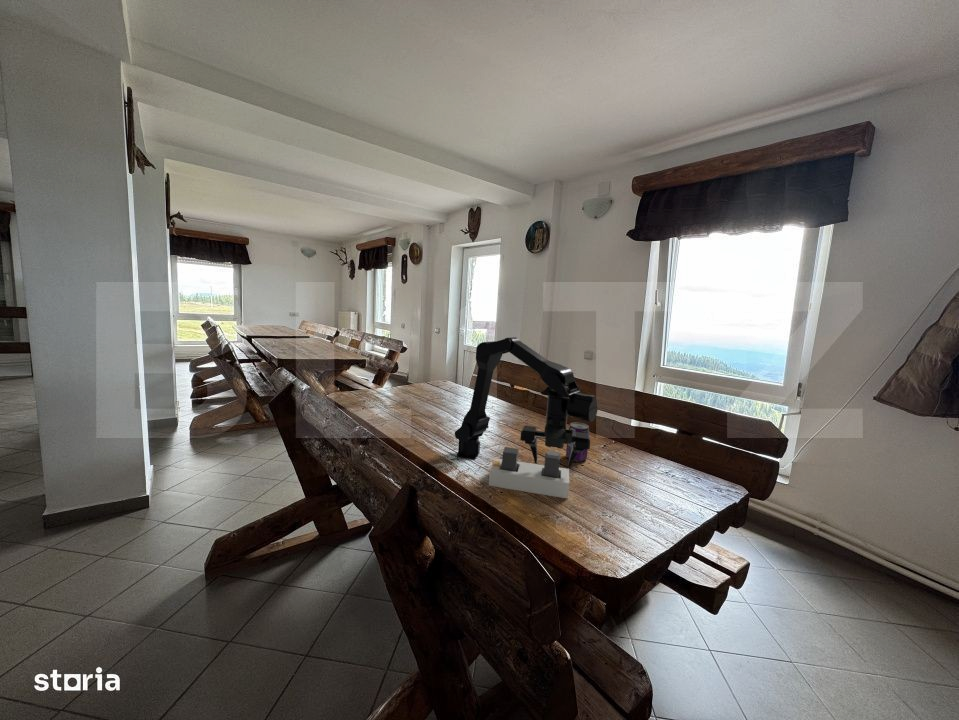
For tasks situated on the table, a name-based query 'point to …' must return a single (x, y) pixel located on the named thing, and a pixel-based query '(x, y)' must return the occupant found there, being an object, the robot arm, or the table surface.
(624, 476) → the table surface
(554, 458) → the plug
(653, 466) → the table surface
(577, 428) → the beverage can
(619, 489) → the table surface
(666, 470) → the table surface
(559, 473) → the power strip
